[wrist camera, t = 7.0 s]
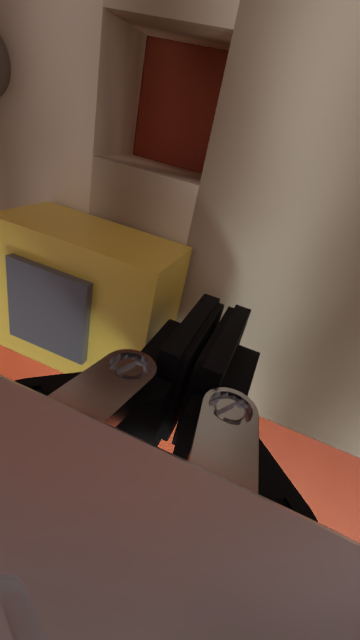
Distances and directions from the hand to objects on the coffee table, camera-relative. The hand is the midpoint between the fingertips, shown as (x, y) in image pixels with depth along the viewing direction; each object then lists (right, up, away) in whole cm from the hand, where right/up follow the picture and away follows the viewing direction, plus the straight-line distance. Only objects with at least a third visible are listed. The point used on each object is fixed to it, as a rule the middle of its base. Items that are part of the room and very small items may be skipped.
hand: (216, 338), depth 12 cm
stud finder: (-4, +2, +2) cm, 5 cm away
